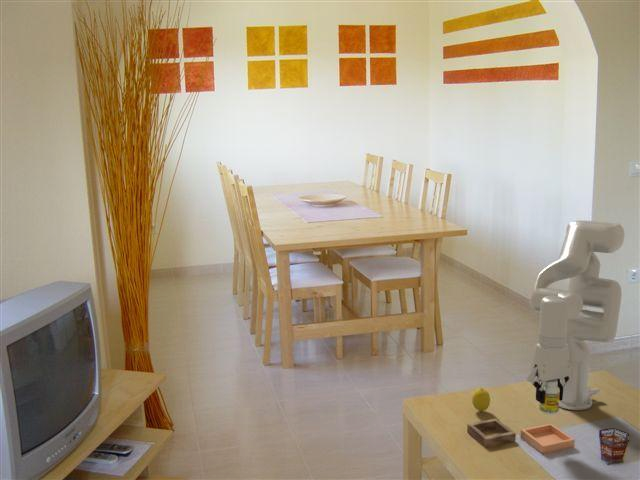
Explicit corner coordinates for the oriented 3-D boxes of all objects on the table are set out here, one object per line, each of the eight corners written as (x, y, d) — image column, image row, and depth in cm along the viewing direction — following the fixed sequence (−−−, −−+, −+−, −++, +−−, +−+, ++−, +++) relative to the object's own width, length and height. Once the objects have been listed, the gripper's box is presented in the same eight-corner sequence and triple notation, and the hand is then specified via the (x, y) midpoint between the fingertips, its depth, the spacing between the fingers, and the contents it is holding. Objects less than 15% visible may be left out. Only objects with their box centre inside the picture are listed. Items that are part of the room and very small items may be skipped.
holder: (495, 425, 212) (496, 418, 211) (515, 441, 203) (515, 433, 202) (467, 431, 209) (467, 424, 208) (485, 447, 200) (485, 439, 199)
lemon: (489, 416, 218) (490, 392, 217) (471, 414, 219) (472, 391, 218) (489, 408, 224) (490, 385, 222) (471, 407, 225) (472, 384, 223)
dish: (550, 431, 208) (550, 423, 208) (574, 447, 198) (574, 439, 198) (520, 437, 205) (520, 429, 204) (543, 454, 195) (543, 446, 194)
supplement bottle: (552, 406, 202) (553, 375, 200) (562, 414, 197) (564, 382, 195) (535, 408, 201) (537, 377, 199) (545, 416, 196) (547, 384, 194)
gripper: (568, 332, 201) (565, 390, 205) (518, 339, 196) (515, 399, 199) (586, 340, 194) (582, 400, 198) (535, 348, 189) (531, 410, 192)
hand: (549, 399), depth 199 cm, fingers closed on supplement bottle, 5 cm apart
